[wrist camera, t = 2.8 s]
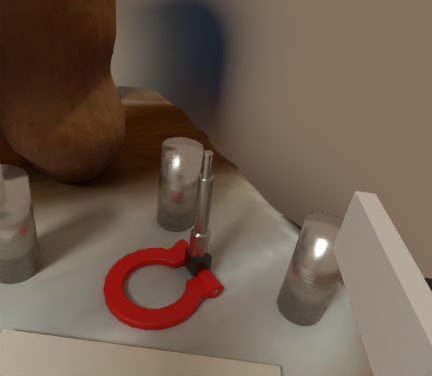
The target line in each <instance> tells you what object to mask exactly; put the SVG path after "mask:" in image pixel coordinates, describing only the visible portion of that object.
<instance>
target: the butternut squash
mask: <svg viewBox="0 0 432 376" xmlns="http://www.w3.org/2000/svg"><path fill="white" fill-rule="evenodd" d="M115 2H116V0H0V136H1V137H2V139H3V140H4V142H5V143H6V144H7V145H8V146H9V147H10V148H11V149H12V150H14V151H15V152H17V153H18V154H19V155H20V156H21V157H22V158H23V159H24V160H25V161H26V162H28V163H29V164H30V165H32V166H33V167H34V168H36V169H37V170H38V171H40V172H41V173H43V174H45V175H47V176H49V177H50V178H52V179H54V180H56V181H60V182H63V183H66V184H72V183H74V182H85V181H88V180H91V179H93V178H95V177H97V176H99V175H100V174H102V172H103V171H104V170H105V169H106V168H107V167H108V166H109V165H110V164H111V163H112V162H113V161H114V160H115V158H116V157H117V155H118V154H119V152H120V150H121V148H122V145H123V141H124V136H125V116H124V110H123V106H122V103H121V100H120V96H119V94H118V91H117V89H116V87H115V85H114V82H113V79H112V75H111V69H110V64H111V58H112V54H113V49H114V43H115V38H116V5H115Z"/></svg>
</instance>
